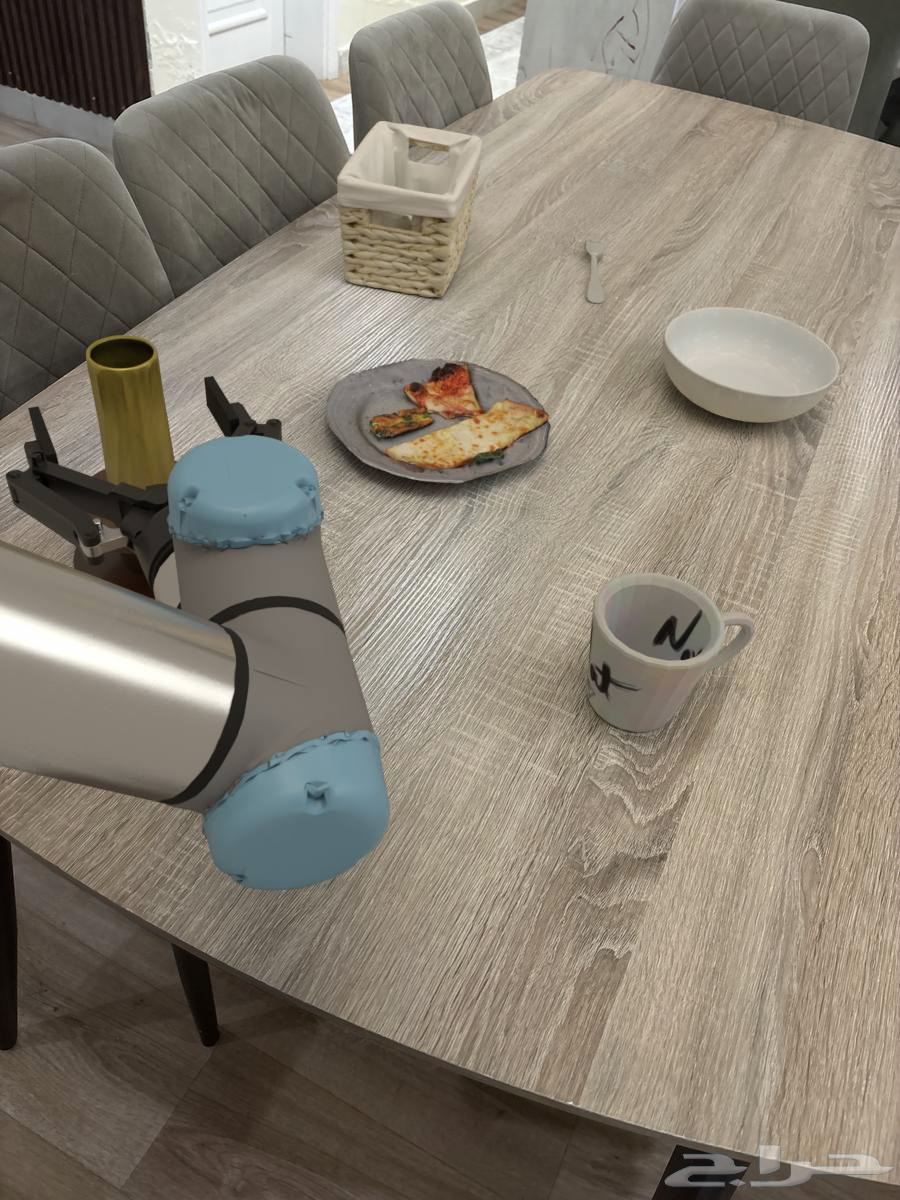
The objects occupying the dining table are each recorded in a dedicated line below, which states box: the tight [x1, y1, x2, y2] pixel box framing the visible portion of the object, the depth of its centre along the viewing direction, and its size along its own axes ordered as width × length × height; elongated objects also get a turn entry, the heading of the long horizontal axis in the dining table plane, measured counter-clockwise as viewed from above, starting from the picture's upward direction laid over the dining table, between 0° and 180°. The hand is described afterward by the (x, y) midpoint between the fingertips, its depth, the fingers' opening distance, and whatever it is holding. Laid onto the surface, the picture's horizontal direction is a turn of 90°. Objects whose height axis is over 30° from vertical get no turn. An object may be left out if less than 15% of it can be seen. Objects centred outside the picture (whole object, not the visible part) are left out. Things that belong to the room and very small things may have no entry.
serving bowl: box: [662, 306, 840, 423], centre depth 115 cm, size 21×21×7 cm
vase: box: [85, 334, 176, 505], centre depth 76 cm, size 6×6×14 cm
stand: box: [72, 460, 178, 600], centre depth 84 cm, size 14×14×7 cm
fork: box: [585, 239, 605, 305], centre depth 139 cm, size 3×21×3 cm, turn 175°
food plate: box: [323, 357, 552, 484], centre depth 104 cm, size 25×23×4 cm
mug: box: [586, 571, 756, 733], centre depth 77 cm, size 10×15×10 cm
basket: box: [336, 120, 484, 298], centre depth 131 cm, size 24×16×15 cm
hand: (126, 405), depth 75 cm, fingers open, 13 cm apart
